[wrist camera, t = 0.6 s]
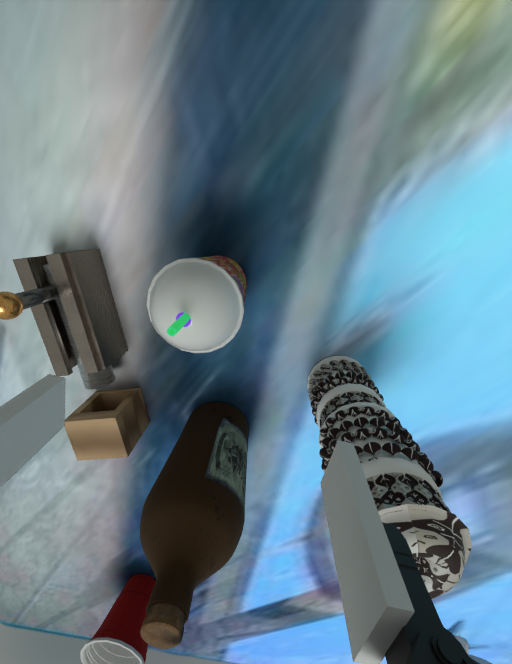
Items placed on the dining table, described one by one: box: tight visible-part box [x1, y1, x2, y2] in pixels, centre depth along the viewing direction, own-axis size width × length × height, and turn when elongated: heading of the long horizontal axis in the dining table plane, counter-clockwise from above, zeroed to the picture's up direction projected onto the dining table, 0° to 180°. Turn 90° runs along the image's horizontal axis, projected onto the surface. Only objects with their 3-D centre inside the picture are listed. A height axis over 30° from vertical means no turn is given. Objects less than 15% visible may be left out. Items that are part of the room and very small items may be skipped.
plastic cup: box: [81, 574, 156, 664], centre depth 53 cm, size 11×11×12 cm
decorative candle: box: [307, 356, 472, 599], centre depth 31 cm, size 9×9×25 cm
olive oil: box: [140, 402, 249, 649], centre depth 34 cm, size 11×11×25 cm
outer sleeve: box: [13, 249, 128, 376], centre depth 37 cm, size 14×6×7 cm, turn 8°
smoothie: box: [147, 256, 247, 353], centre depth 29 cm, size 8×8×20 cm
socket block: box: [64, 388, 150, 460], centre depth 42 cm, size 6×7×8 cm
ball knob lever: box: [0, 264, 115, 389], centre depth 34 cm, size 16×4×12 cm, turn 8°
